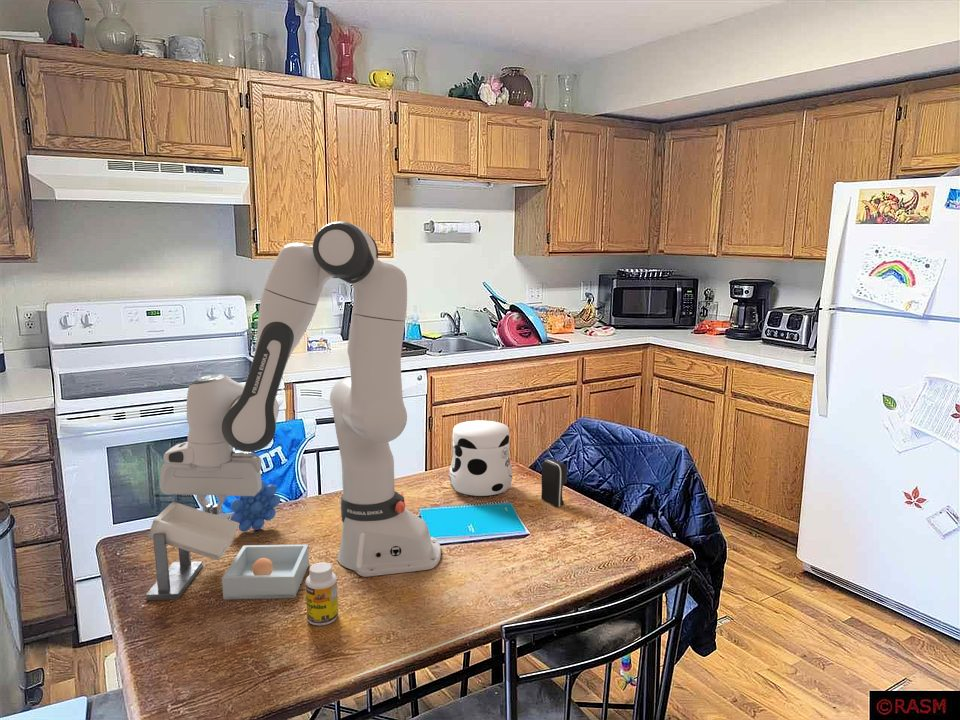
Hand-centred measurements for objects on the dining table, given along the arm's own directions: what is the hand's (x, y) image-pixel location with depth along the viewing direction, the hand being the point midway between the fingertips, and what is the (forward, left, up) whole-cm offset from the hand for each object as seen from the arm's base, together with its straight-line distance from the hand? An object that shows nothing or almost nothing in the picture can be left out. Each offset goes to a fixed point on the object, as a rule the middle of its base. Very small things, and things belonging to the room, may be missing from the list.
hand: (212, 513), depth 142 cm
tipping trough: (+1, +6, -1) cm, 6 cm away
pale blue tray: (-14, +9, -11) cm, 20 cm away
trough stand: (+5, +9, -11) cm, 15 cm away
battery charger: (-78, -29, -11) cm, 84 cm away
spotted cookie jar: (-59, -38, -11) cm, 71 cm away
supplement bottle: (-27, +23, -11) cm, 38 cm away
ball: (-13, +9, -8) cm, 18 cm away
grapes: (-4, -16, -11) cm, 19 cm away
